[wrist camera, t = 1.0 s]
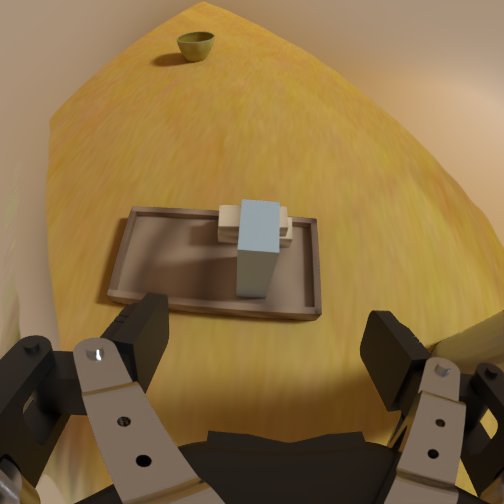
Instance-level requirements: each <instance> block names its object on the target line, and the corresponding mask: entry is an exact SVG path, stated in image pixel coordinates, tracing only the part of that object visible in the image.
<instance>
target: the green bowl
mask: <svg viewBox="0 0 504 504" xmlns="http://www.w3.org/2000/svg"><path fill="white" fill-rule="evenodd" d="M214 39H215V35H214V34H213V33H210V32H190V33H186V34H183V35H180V36H179V37H177V43H178V46H179V49H180V51H181V52H182V54H183V55H184V57H185V58H186V59H187V60H188V61H191V62H198V61H202V60H204V59H205V58H206V57H207V56H208V54H209V52H210V50H211V48H212V46H213V43H214Z"/></svg>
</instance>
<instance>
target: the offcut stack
mask: <svg viewBox="0 0 504 504" xmlns="http://www.w3.org/2000/svg"><path fill="white" fill-rule="evenodd" d="M240 217H241V206H240V205H220V208H219V226H218V242H226V243H238V239H239V228H240ZM291 242H292V217H287V207H280V229H279V247H290V245H291Z"/></svg>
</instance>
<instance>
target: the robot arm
mask: <svg viewBox="0 0 504 504" xmlns="http://www.w3.org/2000/svg"><path fill="white" fill-rule="evenodd" d="M168 339H169V311H168V297H167V295H166V294H158V293H150V292H148V293H147V294H146V295H145V296H144V298H143V299H142V300H141V301H140V303H132V304H131V305H129V306H127V307H125V308H124V309H123V310H122V311H121V312H120V314H119V316H117V317H116V318H115V319H114V322H112V323H111V324H110V326H109V327H108V328H107V329H106V330H105V332H104V333H103V334H102V335H101V337H100V338H89V339H86V340H83V341H81V342H79V343H78V344H77V345H76V346H75V347H74V350H73V352H69V351H53V349H52V346H51V343H50V341H49V340H48V339H47V338H46V337H43V336H37V335H35V336H28V337H25V338H23V339H21V340H19V341H18V342H17V343H16V344H15V345H14V346H13V347H12V348H11V349H10V350H9V351H8V352H7V353H6V354H5V355H4V356H3V357H2V358H1V360H0V504H41V503H40V498H39V495H38V493H37V491H36V489H35V488H36V485H37V483H38V481H39V479H40V476H41V474H42V472H43V470H44V468H45V466H46V463H47V461H48V459H49V457H50V455H51V453H52V451H53V449H54V447H55V445H56V443H57V441H58V439H59V437H60V435H61V433H62V431H63V429H64V427H65V425H66V423H67V421H68V419H69V417H70V416H71V414H72V415H88V418H89V421H90V424H91V427H92V430H93V433H94V436H95V439H96V442H97V445H98V447H99V450H100V453H101V455H102V458H103V460H104V463H105V465H106V468H107V470H108V472H109V475H110V477H111V479H112V481H113V484H112V485H110V486H108V487H106V488H105V489H103V490H101V491H99V492H97V493H95V494H93V495H91V496H89V497H87V498H85V499H83V500H81V501H79V502H77V503H75V504H504V310H503V311H501V312H499V313H497V314H495V315H494V316H492V317H490V318H488V319H486V320H484V321H482V322H480V323H478V324H476V325H474V326H472V327H470V328H468V329H466V330H464V331H461V332H459V333H457V334H455V335H453V336H451V337H448V338H446V339H444V340H442V341H441V342H439V343H438V344H437V346H436V347H435V348H434V350H433V352H432V354H430V353H429V352H428V351H427V349H426V348H425V347H424V346H423V345H422V343H421V342H419V340H418V339H417V337H415V335H414V334H413V333H412V332H411V330H410V329H409V328H407V327H406V326H404V325H403V324H401V323H400V322H399V321H398V320H397V319H396V318H395V316H394V315H393V314H392V313H391V312H390V311H374V310H373V311H371V313H370V314H369V317H368V321H367V324H366V328H365V331H364V334H363V338H362V341H361V345H360V356H361V359H362V361H363V362H364V364H365V366H366V368H367V370H368V372H369V374H370V376H371V378H372V380H373V382H374V384H375V386H376V388H377V390H378V392H379V394H380V396H381V398H382V401H383V403H384V405H385V407H386V409H387V411H388V412H390V411H397V410H401V414H400V416H399V418H398V420H397V422H396V425H395V427H394V430H393V432H392V434H391V437H390V439H389V441H388V444H387V446H384V445H380V444H377V443H371V442H365V439H364V436H363V434H362V432H352V433H340V434H327V435H323V436H319V437H315V438H311V439H307V440H303V441H298V442H294V443H285V442H280V441H275V440H271V439H266V438H262V437H257V436H253V435H249V434H237V433H225V432H215V431H208V438H207V441H204V442H196V443H190V444H186V445H182V446H180V447H177V446H176V445H175V443H174V442H173V440H172V439H171V437H170V436H169V434H168V432H167V431H166V429H165V428H164V426H163V424H162V423H161V421H160V419H159V418H158V416H157V414H156V413H155V411H154V409H153V408H152V406H151V404H150V402H149V401H148V399H147V397H146V395H145V394H146V391H147V389H148V387H149V385H150V382H151V380H152V378H153V375H154V373H155V371H156V369H157V366H158V364H159V362H160V360H161V357H162V355H163V353H164V351H165V348H166V346H167V344H168ZM31 395H32V397H33V400H32V402H31V403H30V405H29V406H28V408H27V409H26V411H25V412H24V414H23V407H24V405H25V403H26V401H27V400H28V399H29V397H30V396H31ZM488 408H489V410H490V411H491V413H492V414H493V415H494V417H495V418H496V420H497V422H498V429H497V432H496V434H495V435H494V436H493V438H492V439H490V437H489V435H488V434H487V432H486V431H485V429H484V427H483V426H482V424H481V423H480V420H481V419H482V417H483V416H484V414H485V413H486V411H487V410H488ZM460 458H461V461H462V463H463V465H464V467H465V469H466V471H467V473H468V475H469V478H470V480H471V482H472V484H473V486H474V489H475V491H476V493H477V496H478V497H476V496H474V495H472V494H470V493H468V492H466V491H465V490H463V489H461V488H459V487H457V486H455V481H456V476H457V471H458V466H459V461H460Z"/></svg>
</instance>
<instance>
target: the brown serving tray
mask: <svg viewBox="0 0 504 504" xmlns="http://www.w3.org/2000/svg"><path fill="white" fill-rule="evenodd" d="M287 217H292V216H287ZM218 226H219V211H215V210H199V209H181V208H161V207H137V206H132V208H131V211H130V214H129V218H128V221H127V224H126V227H125V230H124V233H123V237H122V240H121V243H120V247H119V250H118V254H117V257H116V261H115V265H114V269H113V272H112V276H111V280H110V284H109V288H108V293H107V296H108V297H109V298H110V299H111V300H112V301H113V302H115V303H122V304H129V305H131V304H132V303H140V301H141V300H142V299H143V298H144V296H145V295H146V294H147V293H148V292H150V293H158V294H166V295H167V297H168V309H169V310H178V311H187V312H197V313H207V314H219V315H231V316H244V317H259V318H276V319H297V320H317V319H318V318H319V317H320V315H321V314H322V308H321V282H320V262H319V246H318V232H317V219H313V218H303V217H292V242H291V245H290V247H279V255H278V259H277V262H276V266H275V269H274V273H273V276H272V279H271V283H270V286H269V290H268V293H267V296H266V298H252V297H238V296H236V286H237V250H238V243H226V242H218Z"/></svg>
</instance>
